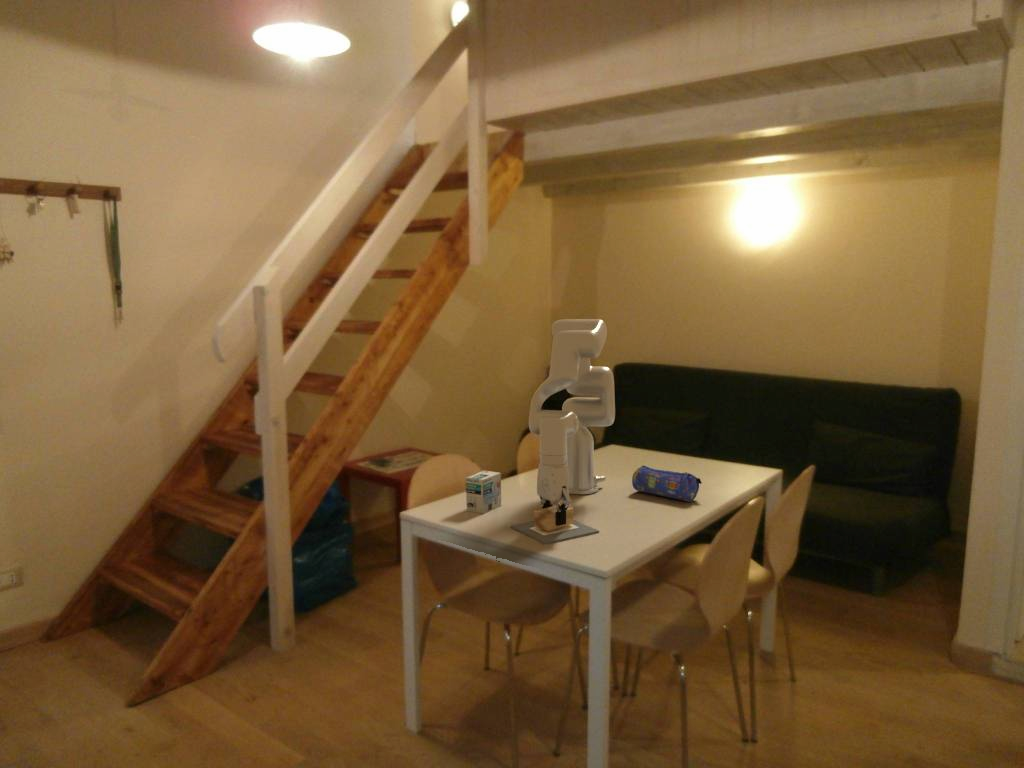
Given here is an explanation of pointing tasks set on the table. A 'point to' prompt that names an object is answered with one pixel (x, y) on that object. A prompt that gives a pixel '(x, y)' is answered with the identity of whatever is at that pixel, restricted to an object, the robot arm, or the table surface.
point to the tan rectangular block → (551, 518)
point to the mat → (554, 532)
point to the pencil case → (666, 483)
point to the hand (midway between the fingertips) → (554, 521)
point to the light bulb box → (483, 491)
